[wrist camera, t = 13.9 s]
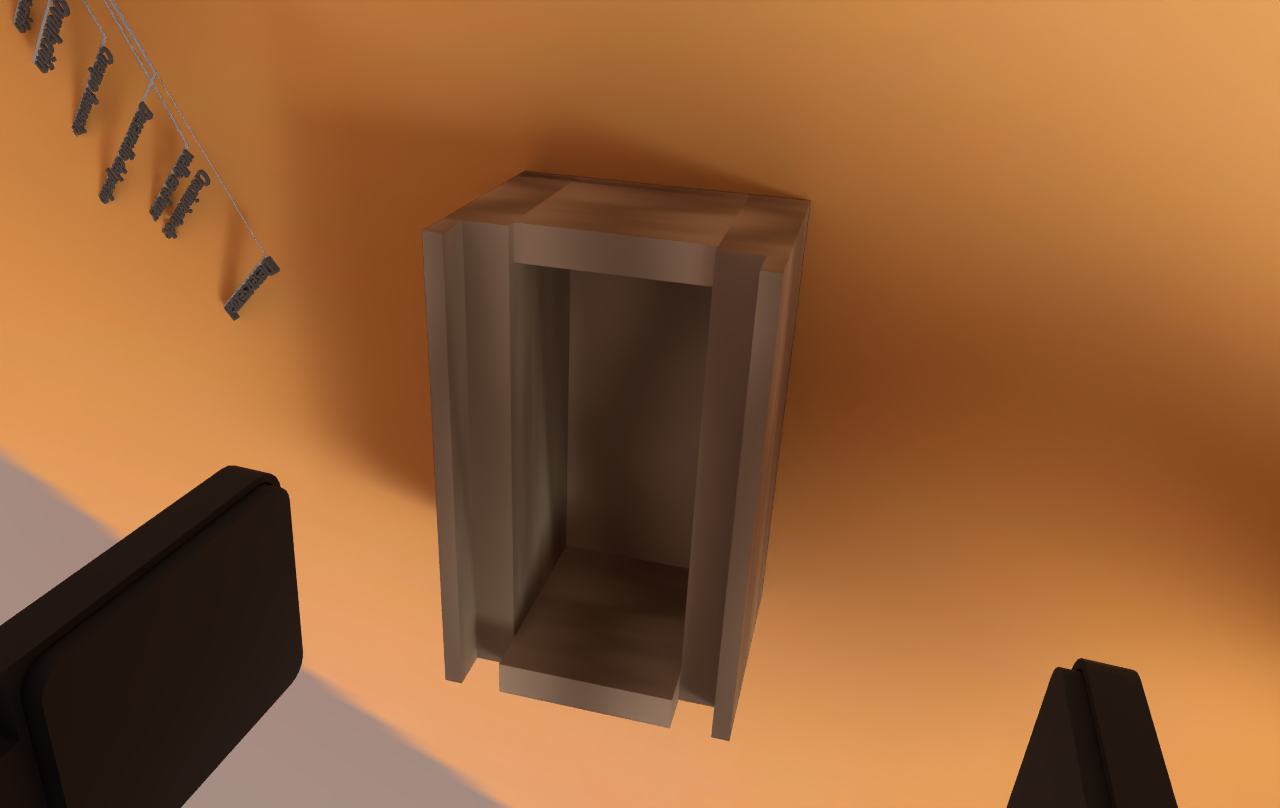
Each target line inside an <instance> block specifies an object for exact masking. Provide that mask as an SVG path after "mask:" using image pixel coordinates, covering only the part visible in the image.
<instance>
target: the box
mask: <svg viewBox="0 0 1280 808" xmlns="http://www.w3.org/2000/svg"><path fill="white" fill-rule="evenodd" d="M809 209H810V201H808V200H798V199H789V198H779V197H769V196H760V195H750V194H740V193H731V192H721V191H711V190H701V189H692V188H682V187H672V186H663V185H653V184H643V183H634V182H624V181H614V180H605V179H595V178H585V177H575V176H566V175H556V174H546V173H537V172H527V171H524V172H522V173H520V174H519V175H517V176H515V177H514V178H512V179H510V180H508V181H507V182H505V183H503V184H501V185H500V186H498V187H496V188H495V189H493V190H491V191H489V192H488V193H486V194H484V195H483V196H481V197H479V198H477V199H476V200H474V201H472V202H471V203H469V204H467V205H465V206H464V207H462V208H460V209H458V210H457V211H455V212H453V213H452V214H450V215H448V216H446V217H445V218H443V219H441V220H440V221H438V222H436V223H434V224H433V225H431V226H429V227H427V228H426V229H424V230H422V239H423V258H424V277H425V296H426V315H427V334H428V353H429V373H430V392H431V411H432V430H433V449H434V468H435V487H436V506H437V525H438V544H439V564H440V583H441V602H442V621H443V640H444V659H445V678H446V680H449V681H453V682H458V683H462V682H463V680H464V679H465V677H466V675H467V674H468V672H469V670H470V669H471V667H472V665H473V664H474V662H475V660H476V659H477V657H478V658H483V659H487V660H492V661H497V662H500V663H499V685H500V692H504V693H509V694H514V695H518V696H523V697H528V698H532V699H537V700H541V701H546V702H551V703H555V704H560V705H565V706H569V707H574V708H579V709H583V710H588V711H592V712H597V713H602V714H606V715H611V716H616V717H620V718H625V719H629V720H634V721H639V722H643V723H648V724H653V725H657V726H662V727H667V728H670V726H671V722H672V719H673V716H674V713H675V709H676V706H677V703H678V700H683V701H688V702H693V703H697V704H702V705H707V706H712V707H714V716H713V725H712V735H711V737H713V738H717V739H722V740H727V741H729V740H730V736H731V731H732V727H733V722H734V718H735V713H736V709H737V704H738V699H739V695H740V690H741V686H742V681H743V677H744V672H745V668H746V663H747V659H748V654H749V650H750V645H751V641H752V636H753V632H754V627H755V623H756V618H757V614H758V609H759V605H760V600H761V596H762V588H763V580H764V572H765V564H766V556H767V548H768V540H769V532H770V524H771V516H772V508H773V499H774V491H775V483H776V475H777V467H778V459H779V451H780V443H781V435H782V427H783V419H784V411H785V403H786V394H787V386H788V378H789V370H790V362H791V354H792V346H793V338H794V330H795V322H796V314H797V306H798V298H799V289H800V281H801V273H802V265H803V257H804V249H805V241H806V233H807V225H808V217H809Z"/></svg>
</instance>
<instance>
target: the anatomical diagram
mask: <svg viewBox="0 0 1280 808" xmlns="http://www.w3.org/2000/svg"><path fill="white" fill-rule="evenodd" d="M51 1H52V0H48V2H47V6H46V10H45V13H44V17H43V21H42V25H41V28H40V32H39V36H38V40H37V44H36V47H35V51H34V55H33V59H32V63H33V64H36V65H37V67H38V68H39V69H40V71H41V72H42V73H47V72H48V69H49V68H50V70H53V69H54V65H53V63H51V61H52V62H55V61H56V58H55V57H52V56H53V54H52V53H54V47H53V44H56V43H57V42H58V44H60V43H62V41H63V40H62V39H61V37H60V36H59V35H58V34H57V33H59V32H60V30H59V28H61V24H62V20H61V19H63V18H64V17H67V16H69V15H70V9H69V6H68V4H67V2H66V1H65V0H53V4H54V6H55V7H54V6H53V7H50V5H51ZM82 1H83V3H84V4H85V6H86V8H87V9H88V11H89V13H90V14H91V16H92V18H93V19H94V21H95V23H96V24H97V26H98V28H99V29H100V31H101V33H102V34H103V36H104V37H103V39H102V42H101V45H100V48H99V51H98V53H97V56H96V59H95V62H94V65H93V67H89V68H88V70H89V71H90V76H89V79H88V82H87V84H86V87H85V90H84V93H83V96H82V98H81V101H80V104H79V107H78V110H77V113H76V115H75V118H74V121H73V126H72V128H73V130H74V131H75V132H76V133H77V134H78V135H81V134H82V132H83V133H87V131H86V130H85V129H84V127H83V126H84V125H85V123H86V119H88V115H87V114H89V113H90V110H91V108H92V105H91V104H93V103H94V104H95V105H97V104H98V99H97V98H96V95H95V94H93V93H92V91H93V92H97V91H98V85H100V84H101V81H102V79H103V78H102V77H103V76H104V75H103V74H102V73H105V68H107V64H109V65H111V64H113V56H112V54H111V52H110V51H109V50H108V49H107V48H106V47H104V45H105V42H106V39H107V37H106V35H105V33H104V32H103V30H102V28H101V27H100V25H99V23H98V22H97V20H96V18H95V17H94V15H93V13H92V12H91V10H90V8H89V7H88V5H87V3H86V2H85V0H82ZM103 1H104V3H105V4H106V6H107V8H108V10H109V11H110V13H111V15H112V17H113V18H114V20H115V22H116V23H117V25H118V27H119V29H120V30H121V32H122V34H123V36H124V37H125V39H126V41H127V43H128V44H129V46H130V48H131V49H132V51H133V53H134V55H135V56H136V58H137V60H138V62H139V63H140V65H141V67H142V69H143V70H144V72H145V74H146V75H147V77H148V79H149V81H150V82H149V84H148V87H147V89H146V91H145V93H144V95H143V98H142V100H141V102H140V104H139V107H138V109H137V111H136V113H135V115H134V118H133V120H132V122H131V124H130V126H129V129H128V131H127V133H126V135H125V138H124V140H123V142H122V144H121V146H120V149H119V151H118V153H117V155H116V158H115V160H114V162H113V164H112V166H111V169H109V168H107V169H106V171H107V173H108V175H107V178H106V180H105V182H104V184H103V186H102V189H101V194H99V198H100V200H101V201H102V202H103V203H104V204H106V203H108V199H109V198H110V200H111V201H113V200H114V199H115V198H114V197H113V196H112V195H111V194H112V193H113V190H112V189H114V188H115V184H117V182H118V179H119V181H120V182H122V181H123V180H124V179H123V178H122V177H121V175H120V174H121V173H122V172H123V173H124V174H126V173H127V170H126V169H125V168H124V167H125V163H124V161H126V160H128V159H130V160H133V159H134V157H135V154H134V152H133V151H132V150H131V149H132V148H134V144H136V142H137V140H138V137H139V136H138V134H140V133H141V129H143V124H144V123H146V120H150V119H152V118H153V113H152V112H151V111H150V110H149V108H148V107H147V106H146V104H145V103H144V101H145V99H146V97H147V95H148V92H149V90H150V88H151V86H153V88H154V89H155V91H156V93H157V95H158V96H159V98H160V100H161V101H162V103H163V105H164V107H165V108H166V110H167V112H168V114H169V115H170V117H171V119H172V121H173V123H174V124H175V126H176V128H177V130H178V132H179V134H180V135H181V137H182V139H183V141H184V143H185V147H184V149H183V151H182V153H181V154H180V156H179V158H178V160H177V162H176V163H175V165H174V167H173V169H172V171H171V172H170V174H169V176H168V178H167V180H166V181H165V183H164V185H163V187H162V189H161V190H160V192H159V194H158V196H157V198H156V199H155V201H154V203H153V205H152V208H151V210H150V211H149V212H150V214H151V215H152V216H153V218H154V219H153V220H154V221H155V222H156V220H158V219H159V218H158V217H159V216H161V213H162V212H163V210H164V208H165V207H166V203H165V201H166V202H167V204H168V205H169V206H171V205H172V204H173V203H172V202H171V201H170V200H169V198H171V196H172V195H171V192H170V191H172V192H173V191H175V189H176V188H177V187H176V186H177V185H178V184H179V181H178V179H177V178H182V177H183V175H184V176H185V178H187V177H189V174H190V173H191V172H190V171H189V170H188V168H187V167H188V166H189V165H190V163H191V162H192V160H191V159H193V158H194V156H193V155H192V154H191V153H189V152H188V151H187V149H188V147H189V145H188V143H187V142H186V140H185V138H184V136H183V134H182V133H181V131H180V129H179V127H178V125H177V123H176V122H175V120H174V118H173V116H172V114H171V113H170V111H169V109H168V107H167V106H166V104H165V102H164V100H163V99H162V97H161V95H160V93H159V92H158V90H157V88H156V87H155V85H154V83H153V81H154V79H155V77H156V75H157V76H158V78H159V80H160V81H161V83H162V85H163V86H164V88H165V90H166V91H167V93H168V95H169V96H170V98H171V100H172V101H173V103H174V105H175V106H176V108H177V110H178V111H179V109H178V107H177V105H176V104H175V102H174V100H173V99H172V97H171V95H170V94H169V92H168V90H167V89H166V87H165V85H164V84H163V82H162V80H161V79H160V77H159V75H158V74H157V72H156V70H155V69H154V67H153V65H152V64H151V62H150V60H149V59H148V57H147V55H146V53H145V52H144V50H143V48H142V47H141V45H140V43H139V42H138V40H137V38H136V37H135V35H134V33H133V32H132V30H131V28H130V27H129V25H128V23H127V22H126V20H125V18H124V17H123V15H122V13H121V12H120V10H119V8H118V7H117V5H116V3H115V2H114V0H109V1H110V2H111V4H112V6H113V7H114V9H115V11H116V12H117V14H118V16H119V17H120V19H121V21H122V22H123V24H124V25H125V27H126V29H127V30H128V32H129V34H130V35H131V37H132V39H133V40H134V42H135V43H136V45H137V47H138V48H139V50H140V51H141V53H142V55H143V56H144V58H145V60H146V61H147V63H148V64H149V66H150V68H151V69H152V71H153V72H154V74H153V76H152V78H150V76H149V74H148V73H147V71H146V69H145V67H144V66H143V64H142V62H141V60H140V59H139V57H138V55H137V54H136V52H135V50H134V48H133V47H132V45H131V43H130V41H129V40H128V38H127V36H126V34H125V33H124V31H123V29H122V28H121V26H120V24H119V22H118V21H117V19H116V17H115V15H114V14H113V12H112V10H111V8H110V7H109V5H108V3H107V1H106V0H103ZM59 2H60V4H61V5H62V7H63V8H62V7H61V6H60V4H59ZM114 4H115V5H114ZM30 6H32V0H18V3H17V8H16V12H15V17H14V21H13V24H14V25H15V26H16V28H17V29H18V30H19V31H20V32H21V33H25V32H26V30H25V29H26V28H27V30H30V29H31V26H30V24H29V23H30V22H33V20H32V19H31V18H29V15H30V8H29V7H30ZM23 7H24V8H23ZM24 9H25V10H24ZM63 9H64V10H63ZM117 9H118V10H117ZM49 10H50V12H51V14H52V15H49V16H48V12H49ZM120 14H121V15H120ZM27 18H28V19H27ZM123 19H124V20H123ZM46 20H47V21H46ZM28 22H29V23H28ZM46 22H47V23H46ZM126 24H127V25H126ZM25 25H26V26H25ZM44 27H46V28H47V29H44ZM129 29H130V30H129ZM43 31H44V33H43ZM42 35H43V36H44V37H45V38H43V39H41V38H42ZM40 42H41V44H40ZM45 44H46V45H47V46H48V48H47V46H46V45H45ZM39 46H40V47H41V48H42V49H40V50H38V49H39ZM104 52H105V53H106V55H107V56H108V59H109V60H107V59H106V57H105V56H104V55H103V54H102V53H104ZM37 53H38V55H39V56H37ZM50 57H51V58H50ZM36 59H37V61H36ZM47 64H48V65H49V66H48V65H47ZM97 67H98V68H97ZM89 87H90V89H91V90H92V91H91V90H90V89H89ZM144 110H145V111H144ZM145 112H146V113H147V114H148V115H147V114H146V113H145ZM179 113H180V115H181V116H182V114H181V112H180V111H179ZM182 118H183V120H184V122H185V123H186V125H187V127H188V128H189V130H190V132H191V133H192V135H193V137H194V138H195V140H196V142H197V143H198V145H199V147H200V148H201V150H202V152H203V153H204V155H205V157H206V158H207V160H208V162H209V163H210V165H211V167H212V168H213V166H212V164H211V162H210V161H209V159H208V157H207V156H206V154H205V152H204V151H203V149H202V147H201V146H200V144H199V142H198V141H197V139H196V137H195V136H194V134H193V132H192V131H191V129H190V127H189V126H188V124H187V122H186V121H185V119H184V117H183V116H182ZM137 119H138V121H137ZM138 125H139V127H138ZM138 128H139V129H138ZM83 129H84V130H83ZM74 131H73V132H74ZM75 132H74V133H75ZM76 133H75V135H76V136H77V134H76ZM119 156H120V157H121V158H122V159H123V160H124V161H123V160H122V159H121V158H120V157H119ZM182 160H183V161H182ZM213 170H214V172H215V173H216V171H215V169H214V168H213ZM112 172H113V173H114V174H115V175H116V176H115V175H114V174H113V173H112ZM174 174H175V175H174ZM200 175H202V176H203V177H204V178H205V181H206V182H205V183H204V181H203V180H202V179H201V177H200ZM216 175H217V177H218V178H219V176H218V174H217V173H216ZM116 177H117V178H118V179H117V178H116ZM194 177H195V178H196V179H194V180H192V181H191V185H189V186H188V188H187V191H185V194H184V195H183V197H182V198H181V200H180V202H181V203H178V205H177V207H176V208H175V210H174V213H172V216H171V217H170V218H169V219H170V222H171V223H167V224H166V225H165V228H164V229H163V230H162V232H163V233H164V232H166V233H165V236H166V237H167V238H168V239H169V238H171V237H173V238H174V239H175V238H177V236H176V234H175V233H174V232H175V228H174V227H177V226H179V223H180V225H182V224H183V223H184V222H183V221H182V218H184V216H185V213H187V212H189V213H192V212H193V211H192V209H190V210H188V209H189V208H190V207H189V206H191V205H192V203H193V202H194V200H195V202H196V203H197V202H199V199H198V198H197V199H195V198H196V197H197V196H198V191H199V190H201V189H202V187H203V186H204V185H205V186H208V185H210V179H209V176H208V175H207V173H206V172H205V171H203V170H199V171H197V173H196V175H195V176H194ZM171 179H172V180H171ZM219 180H220V182H221V183H222V181H221V179H220V178H219ZM194 184H195V185H194ZM222 185H223V187H224V189H225V190H226V192H227V194H228V195H229V197H230V199H231V200H232V202H233V204H234V205H235V207H236V209H237V210H238V212H239V214H240V215H241V217H242V219H243V220H244V222H245V224H246V225H247V223H246V221H245V219H244V218H243V216H242V214H241V213H240V211H239V209H238V208H237V206H236V204H235V203H234V201H233V199H232V198H231V196H230V194H229V193H228V191H227V189H226V188H225V186H224V184H223V183H222ZM166 187H168V188H169V189H168V188H166ZM107 189H108V190H107ZM191 189H192V190H193V191H194V192H193V191H192V190H191ZM169 190H170V191H169ZM164 192H165V193H164ZM161 196H162V197H163V198H164V199H163V198H162V197H161ZM164 200H165V201H164ZM159 201H160V202H161V203H162V204H161V203H160V202H159ZM180 207H181V208H180ZM153 211H154V212H153ZM173 226H174V227H173ZM247 227H248V229H249V230H250V228H249V226H248V225H247ZM250 232H251V234H252V235H253V233H252V231H251V230H250ZM253 237H254V239H255V240H256V238H255V236H254V235H253ZM256 242H257V244H258V245H259V243H258V241H257V240H256ZM259 247H260V249H261V251H262V252H263V254H264V257H263V258H262V260H261V261H260V262H259V263H258V264H257V266H256V267H255V268H254V269H253V270H252V272H251V273H250V274H249V275H248V276H247V278H246V279H245V280H244V281H243V283H242V284H241V285H240V286H239V287H238V289H237V290H236V291H235V292H234V293H233V295H232V296H231V297H230V298H229V299H228V301H227V302H226V303H225V304H224V309H225V310H226V312H227V313H228V314H229V315H230V317H231V318H232V319H233V320H236V319H238V318H239V317H240V316H239V315H238V314H237V313H236V312H237V311H239V310H240V308H241V307H242V306H243V305H244V304H245V303H246V301H247V300H248V299H249V298H250V297H251V295H252V294H254V290H256V289H257V288H259V285H260V284H262V283H263V281H264V280H266V279H267V276H268V275H270V276H272V275H274V274H276V273H278V272H279V271H280V268H279V267H278V266H277V264H276V263H275V262H274V261H273V259H272V258H271V257H270V256H269V257H267V256H266V255H265V253H264V251H263V250H262V248H261V246H260V245H259ZM266 257H267V258H266ZM261 263H262V265H260V264H261ZM259 265H260V266H259ZM252 274H253V275H252ZM245 282H246V284H244V283H245ZM240 288H241V289H240ZM239 289H240V290H239Z"/></svg>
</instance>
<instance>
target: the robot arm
mask: <svg viewBox="0 0 1280 808" xmlns="http://www.w3.org/2000/svg"><path fill="white" fill-rule="evenodd" d="M302 659H303V647H302V636H301V624H300V613H299V601H298V590H297V578H296V567H295V555H294V544H293V532H292V521H291V509H290V499H289V495H288V493H287V491H286V490H285V489H283V488H281V487H280V483H279V481H278V479H277V478H276V476H274V475H272V474H270V473H265V472H261V471H256V470H252V469H248V468H243V467H239V466H227V467H225V468H223V469H221V470H220V471H218V472H217V473H215V474H214V475H212V476H211V477H210V478H208V479H207V480H205V481H204V482H203V483H201V484H200V485H198V486H197V487H196V488H194V489H193V490H191V491H190V492H188V493H187V494H186V495H184V496H183V497H181V498H180V499H179V500H177V501H176V502H174V503H173V504H172V505H170V506H169V507H167V508H166V509H164V510H163V511H162V512H160V513H159V514H157V515H156V516H155V517H153V518H152V519H150V520H149V521H148V522H146V523H145V524H143V525H142V526H140V527H139V528H138V529H136V530H135V531H133V532H132V533H131V534H129V535H128V536H126V537H125V538H124V539H122V540H121V541H119V542H118V543H116V544H115V545H114V546H112V547H111V548H110V549H108V550H107V551H105V552H104V553H102V554H101V555H99V556H98V557H97V558H95V559H94V560H93V561H91V562H90V563H88V564H87V565H86V566H84V567H83V568H81V569H80V570H78V571H77V572H76V573H74V574H73V575H71V576H70V577H68V578H67V579H66V580H64V581H63V582H61V583H60V584H59V585H57V586H56V587H54V588H53V589H51V591H49V592H47V593H46V594H44V595H43V596H42V597H40V598H39V599H37V600H36V601H35V602H33V603H32V604H30V605H29V606H27V607H26V608H25V609H23V610H22V611H20V612H19V613H18V614H16V615H15V616H13V617H12V618H11V619H9V620H8V621H6V622H5V623H4V624H2V625H1V626H0V808H181V807H182V806H183V805H184V804H185V802H186V801H187V800H188V799H189V798H190V797H191V796H192V795H193V793H194V792H195V791H196V790H197V789H198V787H200V786H201V784H202V783H203V782H204V781H205V780H206V779H207V778H208V777H209V775H210V774H211V773H212V772H213V771H214V770H215V769H216V768H217V767H218V765H219V764H220V763H221V762H222V761H223V760H224V759H225V758H226V756H227V755H228V754H229V753H230V752H231V751H232V750H233V749H234V748H235V746H236V745H237V744H238V743H239V742H240V741H241V740H242V739H243V737H244V736H245V735H246V734H247V733H248V732H249V731H250V730H251V728H252V727H253V726H254V725H255V724H256V723H257V722H258V721H259V720H260V718H261V717H262V716H263V715H264V714H265V713H266V712H267V710H268V709H269V708H270V707H271V706H272V705H273V704H274V703H275V702H276V700H277V699H278V698H279V697H280V696H281V695H282V694H283V693H284V692H285V690H286V689H287V688H288V687H289V686H290V685H291V684H292V682H293V680H295V678H296V676H297V674H298V672H299V670H300V667H301V664H302ZM1007 808H1178V806H1177V803H1176V799H1175V796H1174V793H1173V789H1172V786H1171V782H1170V779H1169V775H1168V772H1167V769H1166V765H1165V762H1164V758H1163V755H1162V751H1161V748H1160V744H1159V741H1158V738H1157V734H1156V731H1155V727H1154V724H1153V720H1152V717H1151V714H1150V710H1149V707H1148V703H1147V700H1146V696H1145V693H1144V690H1143V686H1142V683H1141V679H1140V677H1139V675H1138V673H1137V672H1136V671H1134V670H1131V669H1127V668H1122V667H1118V666H1113V665H1109V664H1105V663H1100V662H1096V661H1091V660H1087V659H1083V658H1080V659H1078V660H1077V661H1076V662H1075V664H1074V665H1073V668H1072V670H1070V669H1066V668H1061V667H1057V668H1056V669H1055V670H1054V671H1053V674H1052V676H1051V679H1050V682H1049V685H1048V688H1047V691H1046V694H1045V696H1044V699H1043V702H1042V705H1041V708H1040V711H1039V714H1038V717H1037V720H1036V723H1035V726H1034V729H1033V732H1032V735H1031V738H1030V741H1029V744H1028V746H1027V749H1026V752H1025V755H1024V758H1023V761H1022V764H1021V767H1020V770H1019V773H1018V776H1017V779H1016V782H1015V785H1014V788H1013V791H1012V793H1011V796H1010V799H1009V802H1008V805H1007Z"/></svg>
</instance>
